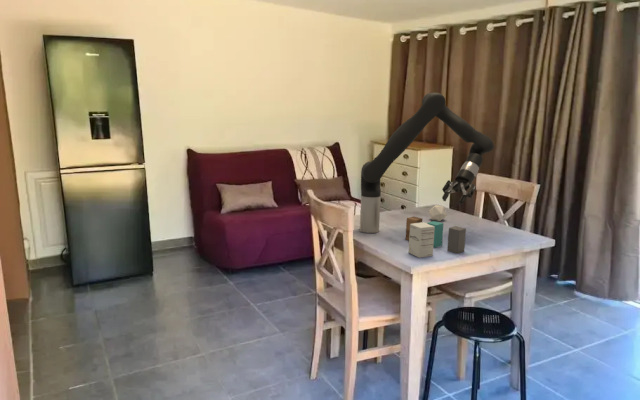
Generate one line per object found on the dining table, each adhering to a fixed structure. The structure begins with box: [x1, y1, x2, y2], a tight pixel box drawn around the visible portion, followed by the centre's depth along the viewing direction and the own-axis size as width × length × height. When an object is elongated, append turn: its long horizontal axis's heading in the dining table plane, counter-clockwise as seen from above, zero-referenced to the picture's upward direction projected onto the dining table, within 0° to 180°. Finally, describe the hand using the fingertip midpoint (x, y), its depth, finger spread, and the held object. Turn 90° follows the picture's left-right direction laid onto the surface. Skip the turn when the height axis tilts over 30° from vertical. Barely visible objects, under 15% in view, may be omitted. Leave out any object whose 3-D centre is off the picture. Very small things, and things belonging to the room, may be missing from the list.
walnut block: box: [405, 216, 423, 241], centre depth 223 cm, size 5×5×10 cm
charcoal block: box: [446, 225, 467, 254], centre depth 207 cm, size 5×5×10 cm
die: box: [428, 204, 448, 223], centre depth 260 cm, size 8×9×10 cm
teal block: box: [426, 220, 444, 248], centre depth 215 cm, size 5×5×10 cm
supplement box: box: [407, 221, 435, 259], centre depth 202 cm, size 7×7×13 cm
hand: (451, 201), depth 220 cm, fingers open, 8 cm apart
